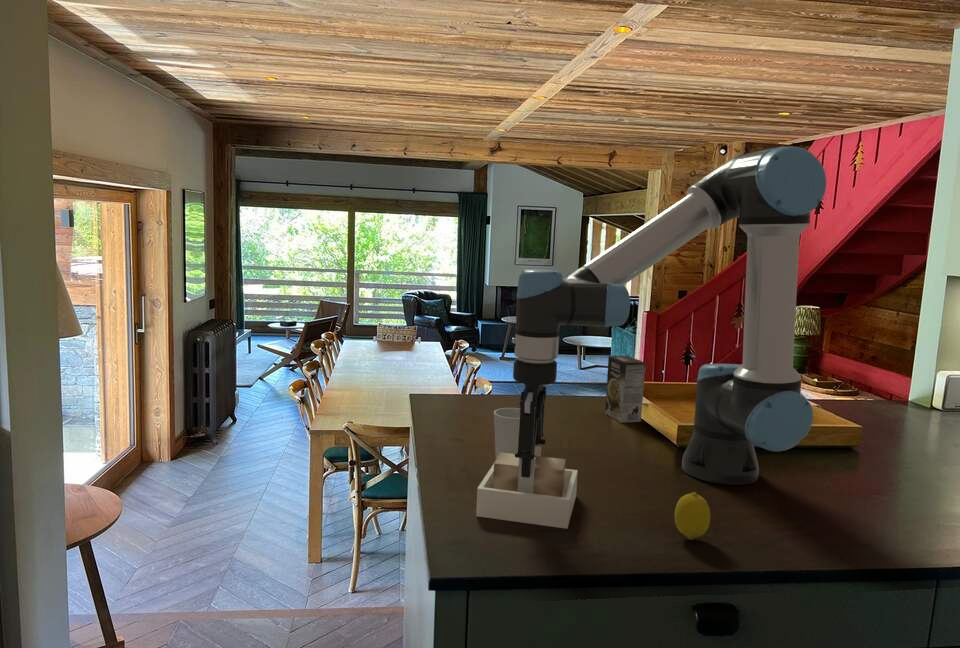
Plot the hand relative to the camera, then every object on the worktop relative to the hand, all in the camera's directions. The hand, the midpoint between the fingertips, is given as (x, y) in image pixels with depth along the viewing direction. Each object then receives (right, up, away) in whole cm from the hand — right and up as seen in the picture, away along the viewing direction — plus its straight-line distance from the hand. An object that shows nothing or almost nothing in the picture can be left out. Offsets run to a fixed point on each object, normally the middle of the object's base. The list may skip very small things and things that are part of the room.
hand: (528, 486), depth 121 cm
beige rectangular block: (0, 0, 0) cm, 0 cm away
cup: (-2, -1, +18) cm, 19 cm away
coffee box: (+30, +4, +61) cm, 68 cm away
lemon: (+26, -6, -11) cm, 28 cm away
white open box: (0, -4, +1) cm, 4 cm away
